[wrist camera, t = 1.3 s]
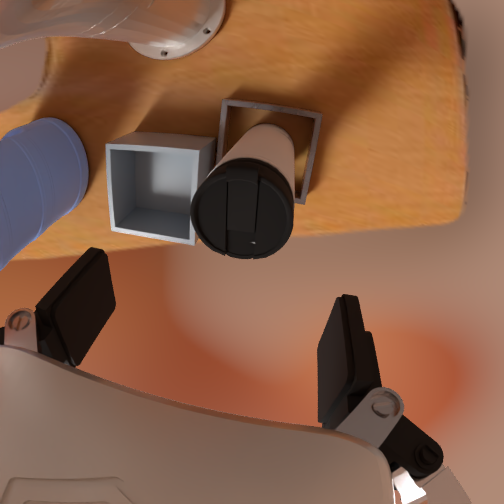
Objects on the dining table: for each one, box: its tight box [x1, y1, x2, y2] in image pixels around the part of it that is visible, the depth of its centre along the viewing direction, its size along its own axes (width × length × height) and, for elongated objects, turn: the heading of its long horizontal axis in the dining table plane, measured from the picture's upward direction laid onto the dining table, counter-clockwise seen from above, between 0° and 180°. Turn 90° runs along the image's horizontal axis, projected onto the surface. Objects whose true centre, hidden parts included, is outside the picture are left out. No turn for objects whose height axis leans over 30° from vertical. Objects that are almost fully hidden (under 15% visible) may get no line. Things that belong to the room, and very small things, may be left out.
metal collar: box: [216, 98, 323, 205], centre depth 33 cm, size 11×11×2 cm
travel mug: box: [190, 123, 295, 259], centre depth 26 cm, size 6×7×20 cm
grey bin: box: [106, 131, 216, 245], centre depth 34 cm, size 11×11×7 cm
